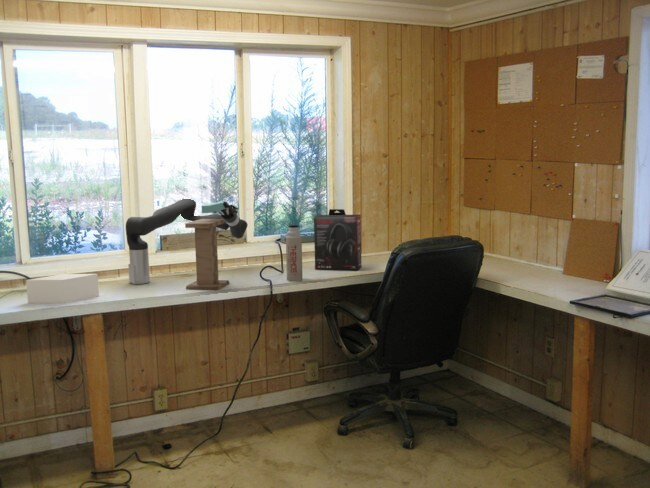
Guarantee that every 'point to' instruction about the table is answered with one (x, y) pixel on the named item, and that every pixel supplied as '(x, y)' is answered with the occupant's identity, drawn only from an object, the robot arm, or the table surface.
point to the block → (62, 288)
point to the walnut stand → (206, 255)
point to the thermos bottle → (294, 254)
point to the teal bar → (213, 207)
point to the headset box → (337, 241)
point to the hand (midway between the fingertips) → (220, 202)
